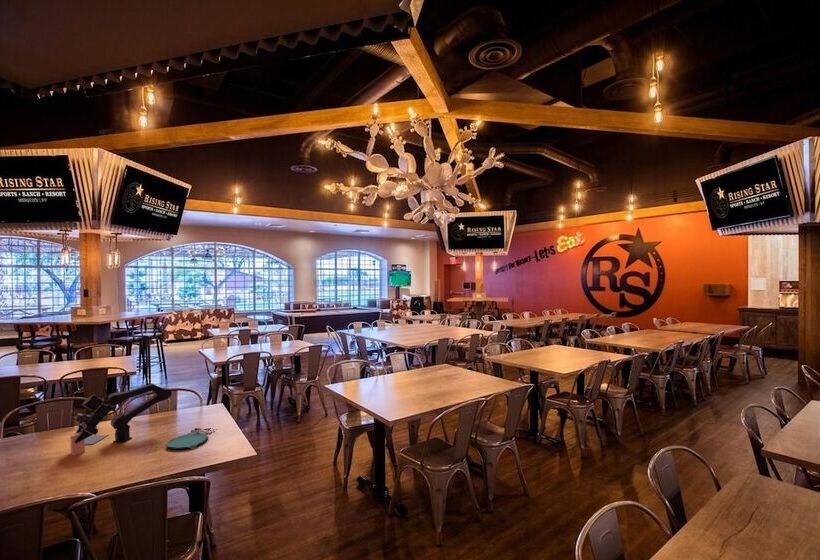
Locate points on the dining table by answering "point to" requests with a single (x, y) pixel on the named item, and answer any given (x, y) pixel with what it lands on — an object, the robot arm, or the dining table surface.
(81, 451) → the red block
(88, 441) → the slate mat
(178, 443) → the green leaf shaped mat
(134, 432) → the dining table surface
